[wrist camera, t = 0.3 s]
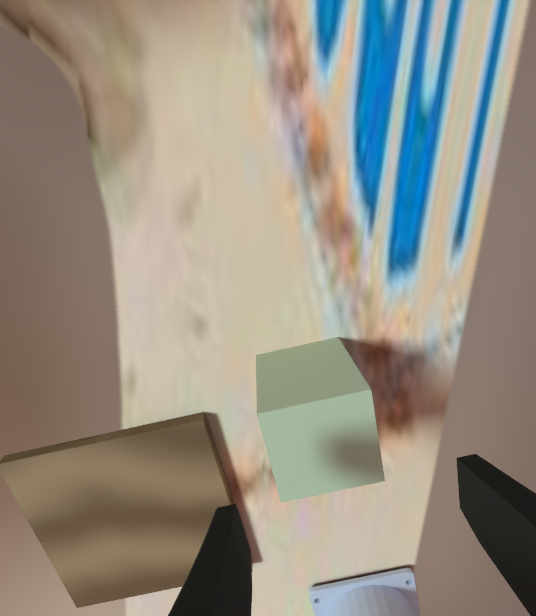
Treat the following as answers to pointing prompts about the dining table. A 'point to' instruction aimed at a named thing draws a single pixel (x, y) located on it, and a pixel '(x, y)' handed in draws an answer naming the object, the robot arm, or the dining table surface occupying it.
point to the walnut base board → (122, 505)
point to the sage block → (317, 420)
